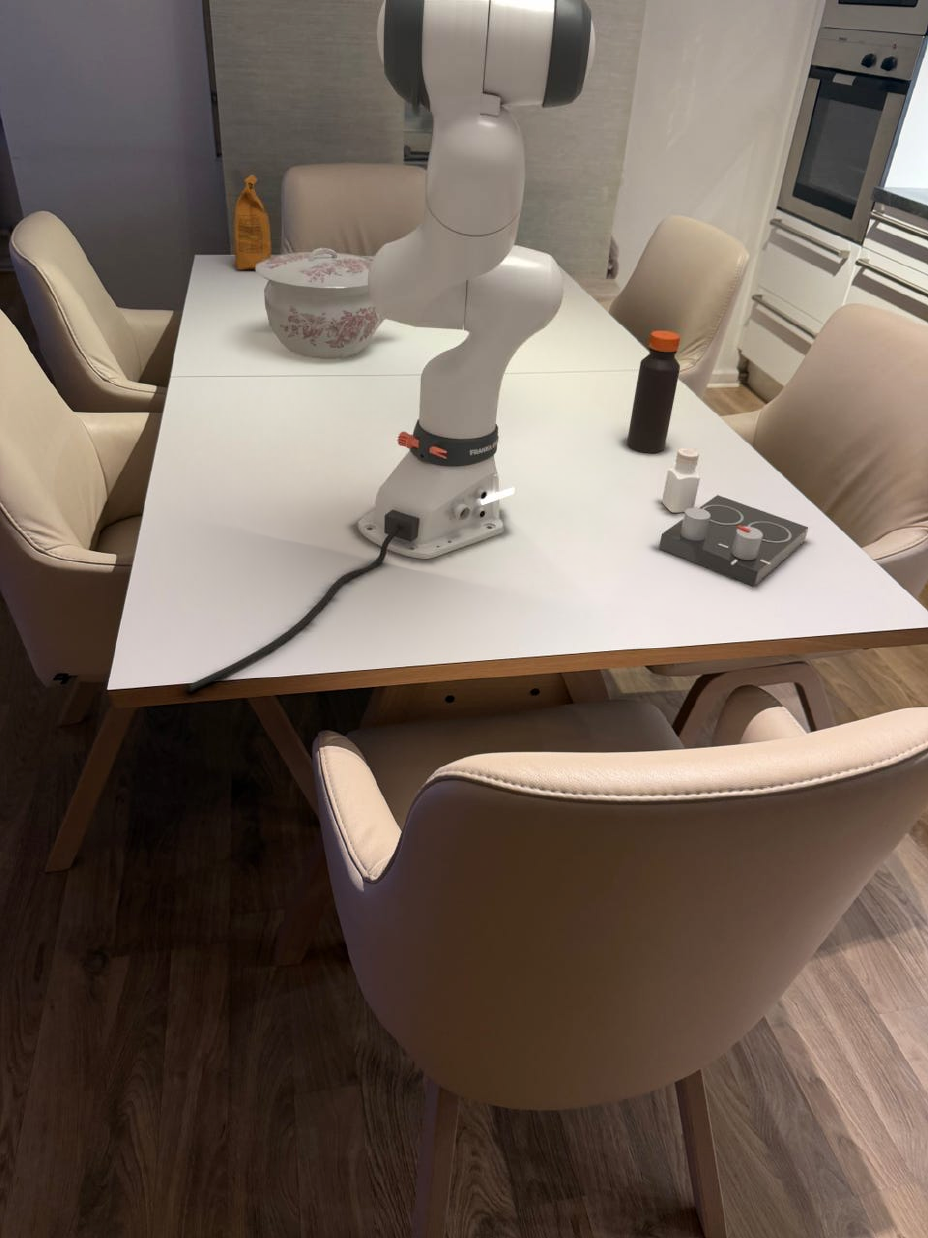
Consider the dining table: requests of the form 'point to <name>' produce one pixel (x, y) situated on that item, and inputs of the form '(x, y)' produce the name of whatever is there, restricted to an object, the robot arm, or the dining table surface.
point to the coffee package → (251, 229)
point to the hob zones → (726, 523)
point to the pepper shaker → (682, 482)
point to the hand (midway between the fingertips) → (477, 104)
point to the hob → (720, 541)
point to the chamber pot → (320, 302)
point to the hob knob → (746, 543)
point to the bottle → (655, 394)
